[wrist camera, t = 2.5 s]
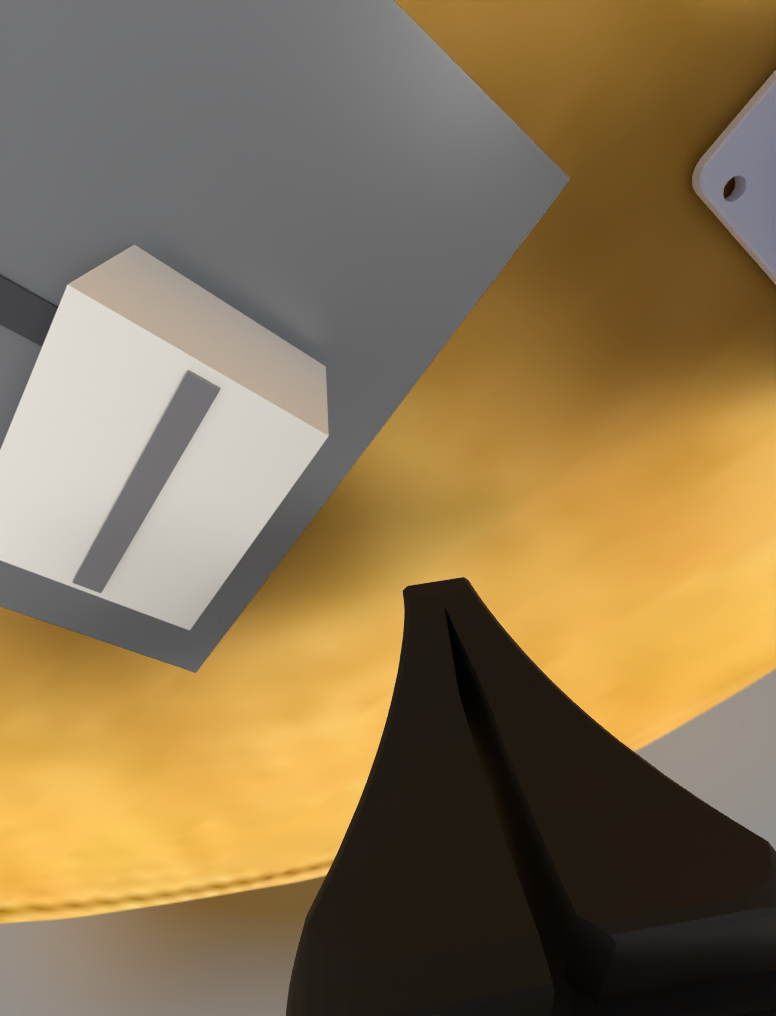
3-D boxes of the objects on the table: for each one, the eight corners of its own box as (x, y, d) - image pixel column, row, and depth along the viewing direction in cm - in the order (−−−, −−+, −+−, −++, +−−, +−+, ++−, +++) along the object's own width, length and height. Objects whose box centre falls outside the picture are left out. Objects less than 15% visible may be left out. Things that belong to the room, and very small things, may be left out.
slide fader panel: (529, 172, 13) (573, 179, 10) (209, 614, 19) (195, 676, 17) (-478, -807, 6) (-909, -1319, 4) (-448, 359, 13) (-607, 405, 10)
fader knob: (325, 361, 12) (328, 438, 9) (216, 526, 14) (188, 634, 11) (138, 242, 10) (64, 285, 7) (46, 447, 12) (-42, 549, 9)
